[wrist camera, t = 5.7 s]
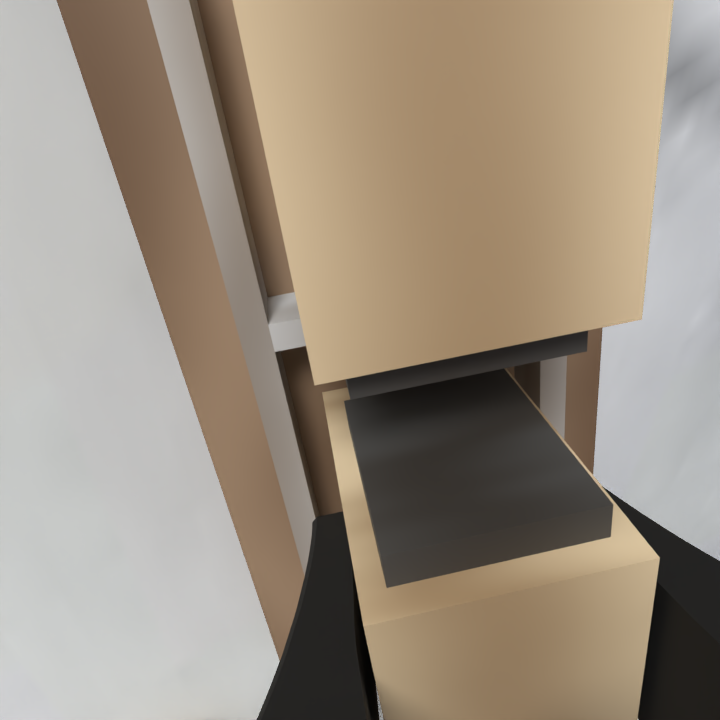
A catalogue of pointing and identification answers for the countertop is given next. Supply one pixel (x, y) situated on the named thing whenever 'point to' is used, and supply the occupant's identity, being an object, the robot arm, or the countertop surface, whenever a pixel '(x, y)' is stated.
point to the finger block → (488, 558)
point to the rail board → (375, 213)
